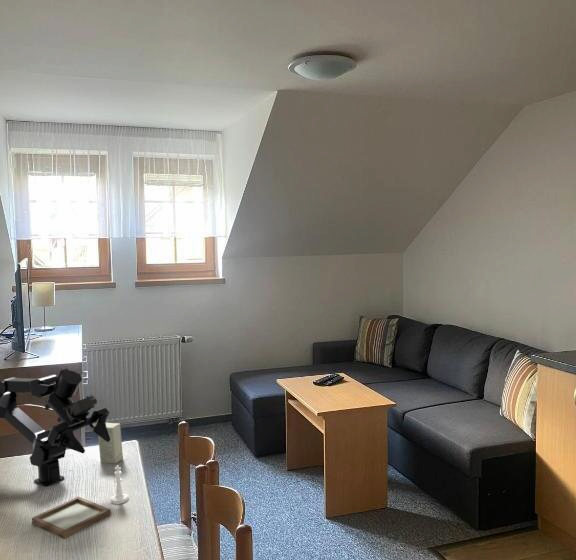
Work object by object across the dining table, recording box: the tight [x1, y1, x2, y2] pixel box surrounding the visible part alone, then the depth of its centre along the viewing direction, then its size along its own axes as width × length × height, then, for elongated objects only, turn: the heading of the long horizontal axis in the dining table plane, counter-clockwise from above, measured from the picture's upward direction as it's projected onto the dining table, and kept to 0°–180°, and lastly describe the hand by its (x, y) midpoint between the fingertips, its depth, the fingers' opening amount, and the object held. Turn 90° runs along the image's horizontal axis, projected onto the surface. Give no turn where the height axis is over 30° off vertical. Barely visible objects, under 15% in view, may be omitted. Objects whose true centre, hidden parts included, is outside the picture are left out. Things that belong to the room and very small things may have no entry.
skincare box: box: [97, 422, 124, 464], centre depth 190 cm, size 6×4×12 cm
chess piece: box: [110, 464, 129, 505], centre depth 162 cm, size 5×5×10 cm
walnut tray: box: [31, 496, 112, 540], centre depth 152 cm, size 14×14×2 cm
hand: (97, 446), depth 164 cm, fingers open, 9 cm apart
